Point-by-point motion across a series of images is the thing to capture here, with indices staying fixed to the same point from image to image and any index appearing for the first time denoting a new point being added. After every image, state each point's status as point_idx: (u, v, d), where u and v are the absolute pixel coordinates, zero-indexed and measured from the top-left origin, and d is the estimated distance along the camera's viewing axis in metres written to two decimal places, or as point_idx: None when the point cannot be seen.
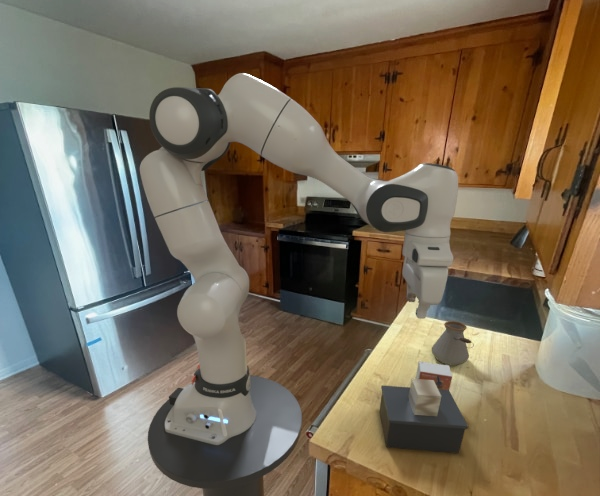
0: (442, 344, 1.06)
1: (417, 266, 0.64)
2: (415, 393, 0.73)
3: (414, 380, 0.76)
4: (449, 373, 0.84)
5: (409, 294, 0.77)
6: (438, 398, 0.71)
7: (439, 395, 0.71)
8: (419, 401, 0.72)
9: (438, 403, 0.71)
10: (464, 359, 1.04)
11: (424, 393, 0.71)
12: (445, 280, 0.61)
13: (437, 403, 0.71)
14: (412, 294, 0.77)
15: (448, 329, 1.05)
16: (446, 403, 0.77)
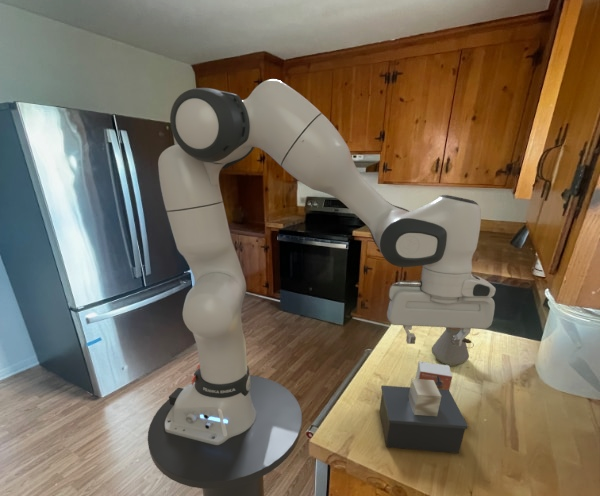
0: (442, 344, 1.06)
1: (481, 299, 0.63)
2: (415, 393, 0.73)
3: (414, 380, 0.76)
4: (449, 373, 0.84)
5: (413, 336, 0.69)
6: (438, 398, 0.71)
7: (439, 395, 0.71)
8: (419, 401, 0.72)
9: (438, 403, 0.71)
10: (464, 359, 1.04)
11: (424, 393, 0.71)
12: None
13: (437, 403, 0.71)
14: (412, 335, 0.70)
15: (448, 329, 1.05)
16: (446, 403, 0.77)
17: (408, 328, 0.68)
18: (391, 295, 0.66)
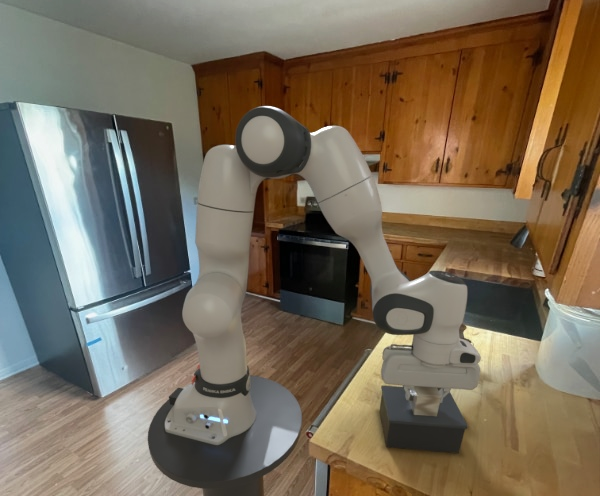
0: None
1: (468, 365, 0.68)
2: (415, 393, 0.73)
3: None
4: None
5: (412, 394, 0.74)
6: (438, 398, 0.71)
7: (439, 395, 0.71)
8: (419, 401, 0.72)
9: (438, 403, 0.71)
10: None
11: (424, 393, 0.71)
12: None
13: (437, 403, 0.71)
14: (411, 392, 0.75)
15: None
16: (446, 403, 0.77)
17: (407, 387, 0.73)
18: (384, 357, 0.71)
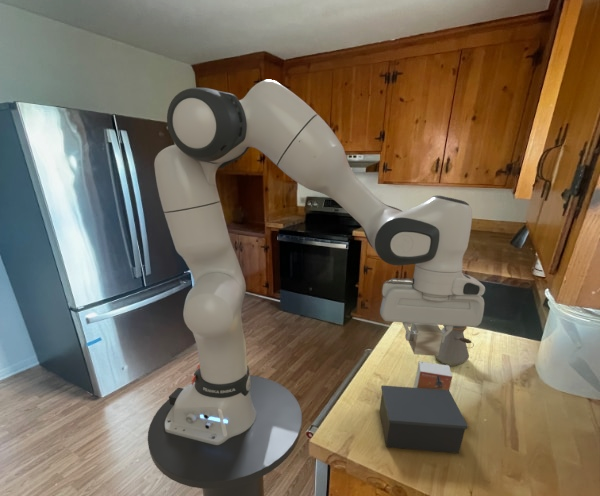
0: (442, 344, 1.06)
1: (471, 297, 0.64)
2: (415, 331, 0.70)
3: None
4: (449, 373, 0.84)
5: (412, 333, 0.71)
6: (440, 336, 0.68)
7: (440, 332, 0.68)
8: (420, 338, 0.68)
9: (439, 341, 0.68)
10: (464, 359, 1.04)
11: (425, 330, 0.68)
12: None
13: (438, 341, 0.68)
14: (411, 332, 0.71)
15: None
16: (446, 403, 0.77)
17: (407, 325, 0.70)
18: (384, 292, 0.68)
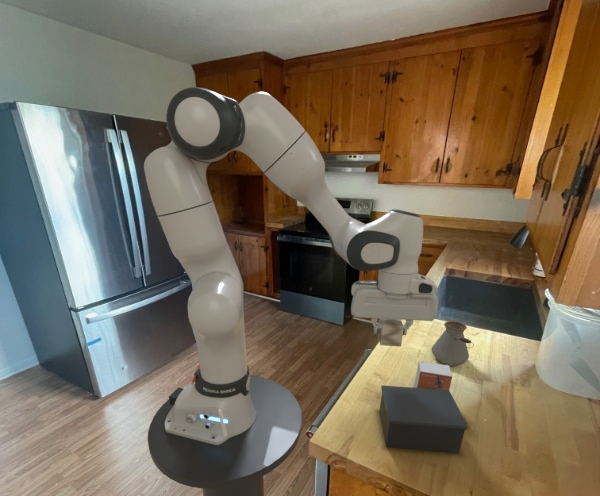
0: (442, 344, 1.06)
1: (426, 295, 0.75)
2: (381, 325, 0.80)
3: None
4: (449, 373, 0.84)
5: (379, 327, 0.82)
6: (401, 329, 0.79)
7: (402, 326, 0.79)
8: (384, 331, 0.79)
9: (401, 333, 0.79)
10: (464, 359, 1.04)
11: (388, 324, 0.79)
12: None
13: (400, 333, 0.79)
14: (378, 326, 0.82)
15: (448, 329, 1.05)
16: (446, 403, 0.77)
17: (374, 320, 0.81)
18: (353, 292, 0.79)
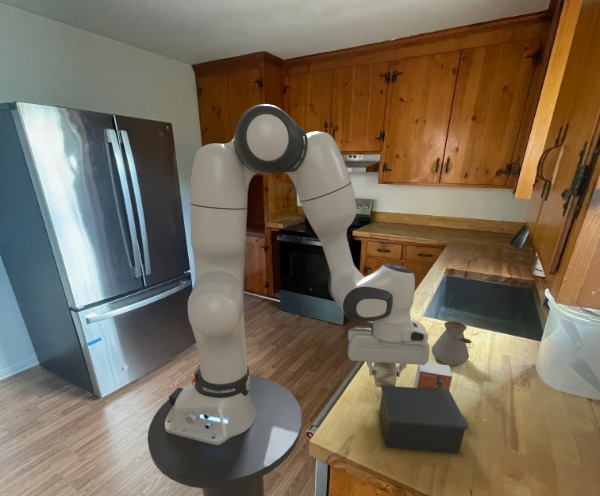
0: (442, 344, 1.06)
1: (418, 342, 0.80)
2: (376, 368, 0.85)
3: None
4: (449, 373, 0.84)
5: (374, 369, 0.86)
6: (395, 372, 0.83)
7: (395, 369, 0.83)
8: (379, 374, 0.84)
9: (395, 376, 0.84)
10: (464, 359, 1.04)
11: (383, 368, 0.84)
12: None
13: (394, 376, 0.84)
14: (373, 368, 0.87)
15: (448, 329, 1.05)
16: (446, 403, 0.77)
17: (369, 363, 0.85)
18: (349, 337, 0.84)
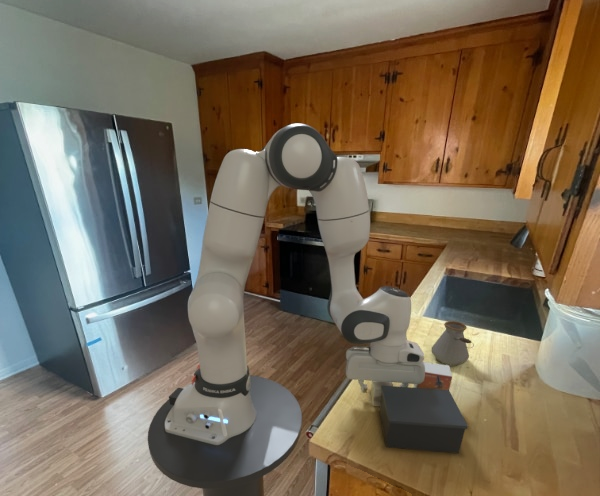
0: (442, 344, 1.06)
1: (414, 363, 0.82)
2: (373, 388, 0.87)
3: None
4: (449, 373, 0.84)
5: (365, 387, 0.89)
6: None
7: None
8: (376, 394, 0.86)
9: None
10: (464, 359, 1.04)
11: (380, 388, 0.86)
12: None
13: None
14: (365, 385, 0.89)
15: (448, 329, 1.05)
16: (446, 403, 0.77)
17: (361, 381, 0.88)
18: (347, 357, 0.86)
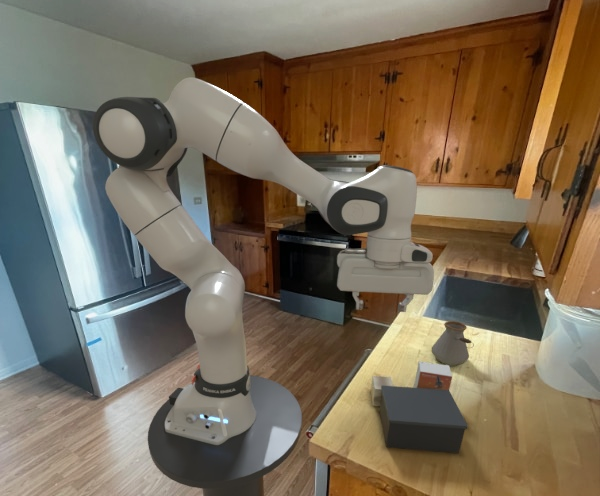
0: (442, 344, 1.06)
1: (420, 264, 0.67)
2: (373, 388, 0.87)
3: (374, 377, 0.91)
4: (449, 373, 0.84)
5: (361, 302, 0.73)
6: None
7: None
8: (376, 394, 0.86)
9: None
10: (464, 359, 1.04)
11: (380, 388, 0.86)
12: None
13: None
14: (361, 301, 0.74)
15: (448, 329, 1.05)
16: (446, 403, 0.77)
17: (356, 294, 0.72)
18: (339, 262, 0.71)
